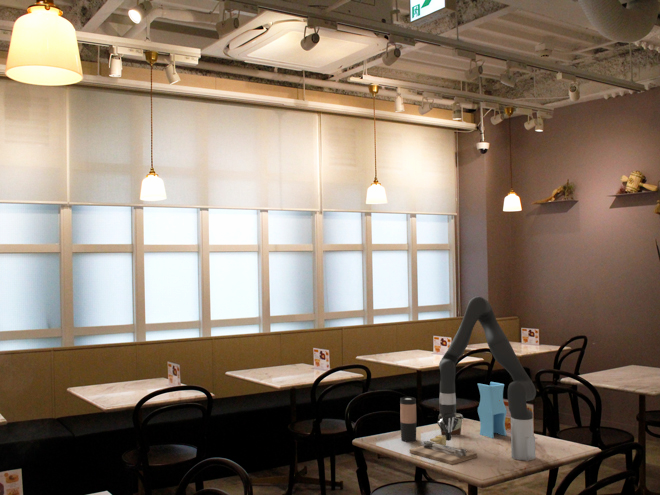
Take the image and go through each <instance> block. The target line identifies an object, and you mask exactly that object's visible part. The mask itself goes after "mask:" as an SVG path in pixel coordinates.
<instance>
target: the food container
mask: <svg viewBox="0 0 660 495" xmlns="http://www.w3.org/2000/svg"><path fill="white" fill-rule="evenodd" d="M454 414H455V417H456V418H458V419H459V420H458V422H457V425H456V427H455V429H454V430H452V432H451V437H452V436H455V437H456V436H459V437H460V436H461V435H462V424H463V420H464V416H463V414H461V413H457V412H456V413H454ZM437 420H439V421H440V420H441V413H439V415H438V418H437ZM446 428H447V427H446ZM440 435H442V436H445V432H444V431H442V430H441V429H440Z"/></svg>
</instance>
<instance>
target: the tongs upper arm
mask: <svg viewBox="0 0 660 495" xmlns="http://www.w3.org/2000/svg"><path fill="white" fill-rule="evenodd" d="M423 445H429V446H433V447H436V448H440V449H444V450H447V451H451V452H454V453H455V450H459V449H460V448H457V449H455V448H456V447H453V446H449V445H445V446H444V445H441V444H437V443H436V442H431V441H430V440H426V441H423ZM448 446H449V447H448ZM452 447H453V448H452ZM460 451H461V453H463V450H460Z"/></svg>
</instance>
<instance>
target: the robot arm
mask: <svg viewBox="0 0 660 495" xmlns="http://www.w3.org/2000/svg"><path fill="white" fill-rule="evenodd" d="M477 322H479V324H480V326H481V327H482V329H483V332H484V334H485V335H484V336H485V338H486V339H485V340H486V343H487V346H488V349H489V350H490V352H491V355H492V356H493V359H494V360H495V361H496V362H497V363H498V364H499V365H500V366H501V367H502V368H503V369H505V370H506V372H507V373H509V375H510V376H511V379H512V380H513V381H512V382H510V383H509V384H508V386H507V387H508V388H507V401H508V402H507V405H508V410H509V413H510V445H511V446H510V448H511V451H510V452H511V454H510V455H511V458H512V459H515V460H518V461H526V462H530V461H532V460H535V459H536V458H537V457H536V436H535V435H534V416H533V411H532V410H530V409H528V407H527V402H530V401H533V400H535V397H536V395H537V389H536V386H535V384H534V383H533V381H532V379H531V378H530V376H529V375H528V373H527V372H526V370H525V369H524V367H523V365H522V363H521V362H520V359H519V358H518V356H517V355H516V353H515V351H514V350H515V349H514V348H513V346H512V344H511V342H510V341H509V338H508V337H507V335H506V334H505V332H504V331H503V329H502V327H501V326H500V324H499V322H498V320H497V317H496V315H495V313H494V310H493V307H492V305H491V303H490V302H489V301H488V300H487V299H485V298H484V297H481V296H478V295H477V296H474V297H472V298H471V299H470V300H469V301H468V304H467V305H466V310H465V313H464V315H463V317H462V320H461V323H460V325H459V328H458V329H457V331H456V334H455V335H454V337H453V339H452V341H451V343H450V344H449V347H448V349H447V351H446V352H445V353H444V355H443V356H442V358H441V360H440V361H439V364H438V368H439V371H440V382H439V401H438V402H439V414H441V420H440V419H439V420H437V425H438V427H439V428H440V431H441V430H442V431H444V432H445V435H444V436H446V442H447V441H449V442H450V441H451V440H452V436H451V432H452V430H454V429H455V427H456V425H457V422H458V420H459V419H458V418H456V417H455V414H454V413H457V399H456V398H457V396H456V364H457V362H458V361H459V359H460V358H462V357H463V354H464V353H465V351H466V348H467V347H468V345H469V342H470V341H471V336H472V333H473V330H474V327H475V325H476V323H477ZM446 427H447V428H446Z"/></svg>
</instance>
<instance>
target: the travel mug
mask: <svg viewBox="0 0 660 495" xmlns="http://www.w3.org/2000/svg"><path fill="white" fill-rule="evenodd" d="M399 403H400V404H399V405H400V411H399V412H400V415H399V416H400V419H399V420H400V440H401V441H403V442H409V443H410V442H411V443H412V442H415V441H417V398H415V397H413V396H402V397H400V401H399Z"/></svg>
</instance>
